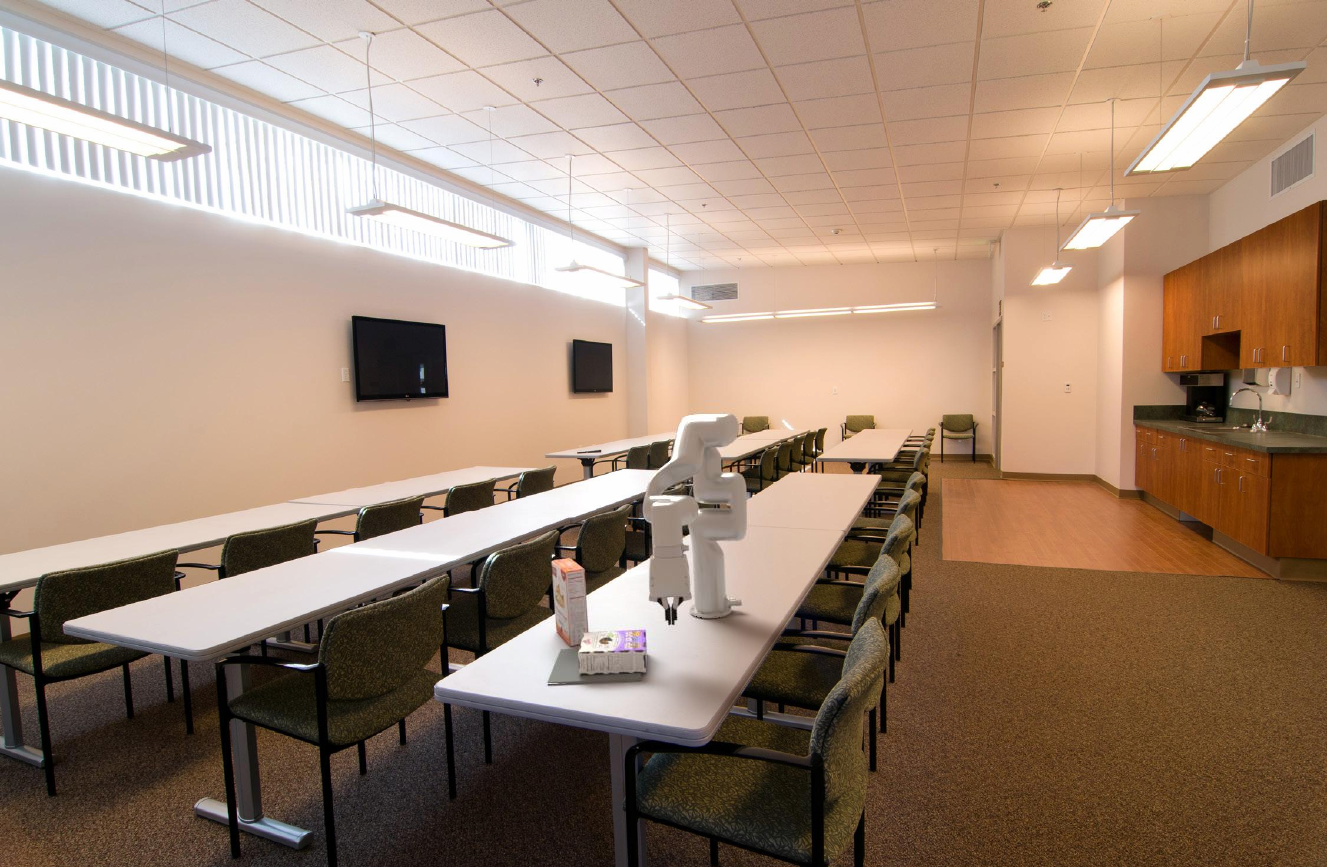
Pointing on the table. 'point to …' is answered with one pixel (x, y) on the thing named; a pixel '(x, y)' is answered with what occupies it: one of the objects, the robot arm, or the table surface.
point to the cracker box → (570, 600)
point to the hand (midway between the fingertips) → (671, 623)
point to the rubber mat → (569, 673)
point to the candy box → (613, 652)
